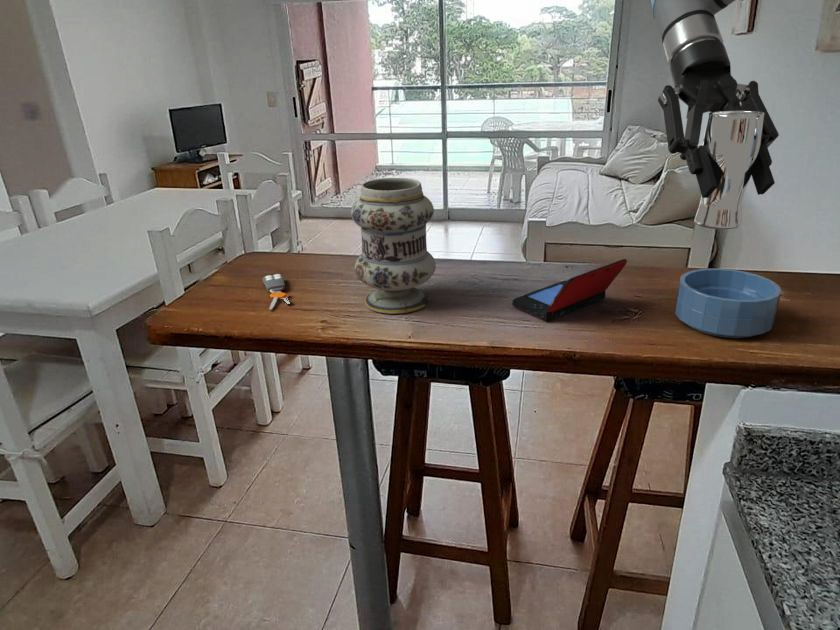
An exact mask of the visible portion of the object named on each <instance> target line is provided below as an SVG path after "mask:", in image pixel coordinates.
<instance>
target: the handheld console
mask: <svg viewBox="0 0 840 630" xmlns="http://www.w3.org/2000/svg"><path fill="white" fill-rule="evenodd" d="M627 263H628V259H626V258H623V259H619V260H617V261H615V262H612V263H609V264H606V265H604V266H600V267H598V268H595V269H592V270H589V271H587V272H584V273H581V274H577V275H576V276H573V277H571V278H569V279H567V280H562V281H559V282H555V283H553V284H550V285H548V286H547V285H546V286H544V287H541V288H539V289H536V290H534V291H531V292H527V293H525V294H523V295H520V296H517V297H515V298H513V299H512V303H511V304H512V306H513V307H514V308H516V309H518V310H521V311H522V312H525V313H526V314H529V315H532V316H534V317H535V318H538V319H541V320H543V321H544V322H550V321H554V319H557V318H560V317H562V316H564V315H567V314H569V313H571V312H573V310H577V309H581V308H584V307H586V306H589V305H592V304H594V303H597V302H600V301H602V300H604V299H605V298H606V291H607V290H608V288H609V287H610V286H611V284H612V283H613V282H614V280H615V279H616V278H617V276H619V274H620V273H621V271H622V270H623V269H624V268H625V266H626V265H627Z"/></svg>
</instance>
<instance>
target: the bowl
mask: <svg viewBox="0 0 840 630" xmlns="http://www.w3.org/2000/svg"><path fill="white" fill-rule="evenodd" d="M781 295H782V289H781V286H780V285H779V284H777V283H776V282H775V281H773V280H771V279H769V278H767V277H765V276H762V275H759V274H755V273H753V272H749V271H744V270H743V271H742V270H738V269H729V268H720V267H719V268H716V267H715V268H700V269H699V268H698V269H692V270H690V271H687V272H684V273H683V274H682V275H681V276H680V277H679V283H678V290H677V296H676V302H675V311H674V314H675V316H676V317H677V318H678V319H679V320H680V321H681V322H683V323H684V324H686V325H687V326H689V328H691V329H694V330H695V331H698V332H700V333H703V334H706V335H710V336H714V337H719V338H726V339H745V338H750V337H751V338H752V337H754V336H759V335H763V334H765V333H768V332H770V331H771V330H772V328H773V327H774V325H775V321H776V316H777V312H778V308H779V304H780V299H781Z"/></svg>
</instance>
